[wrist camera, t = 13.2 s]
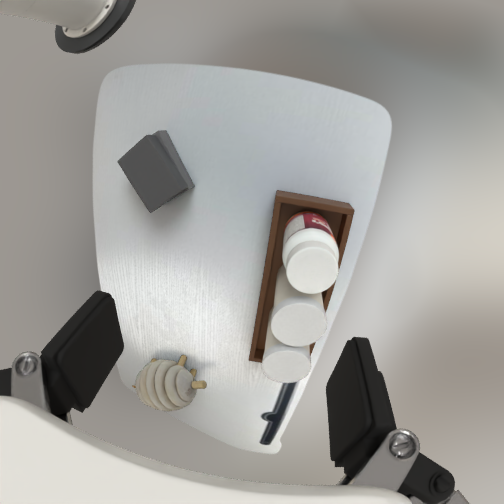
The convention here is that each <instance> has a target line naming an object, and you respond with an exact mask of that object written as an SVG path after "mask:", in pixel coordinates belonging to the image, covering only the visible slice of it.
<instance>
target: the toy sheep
mask: <svg viewBox="0 0 504 504" xmlns="http://www.w3.org/2000/svg"><path fill="white" fill-rule="evenodd" d="M186 359H187V357H186V356H185V355H182V356H181V357H180V359H179V362H178V363H177V362H175V361H172V360H163V359H161V360H156V359H155V358H154V359H152V360H151V362H150V363H149V364H147V365H146V366H145V367H144V368H143V370H141V371H140V372H139V374H138V375H137V378H136V383H135V386H133V385H132V386H133V387H134V388H136V392H137V395H138V397H139V398H140V400H141V401H142V402H143V403H144V404H145V405H147V406H150V407H153V408H155V409H157V410H163V411H172V410H179V409H181V408H183V407H185V406H187V405H189V404H190V403H191V402H192V400H193V398H194V397H195V394H196V391H197V389H202V388H206V386H207V384H206V382H205V381H195V375H196V372H197V371H196V370H195V369H191V371H190V372H189V371H188V370H187V369H186V368H184V364H185V362H186Z"/></svg>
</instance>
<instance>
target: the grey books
mask: <svg viewBox="0 0 504 504" xmlns="http://www.w3.org/2000/svg"><path fill="white" fill-rule="evenodd" d="M118 163H119V165H120V167H121V168H122V170H123V171H124V173H125V175H126V176H127V178H128V179H129V181H130V183H131V184H132V186H133V187H134V189H135V190H136V192H137V194H138V195H139V197H140V198H141V200H142V201H143V203H144V204H145V206H146V207H147V209H148V210H149V212H150V213H151V212H153V211H155V210H156V209H158V208H159V207H161V206H162V205H163V204H165V203H166V202H168V201H169V200H171V199H173V198H175V197H177V196H178V195H180V194H182V193H184V192H186V191H188V190H189V189H191V188H193V187H194V184H193V182H192V180H191V178H190V176H189V174H188V172H187V171H186V169H185V167H184V165H183V163H182V161H181V159H180V157H179V155H178V153H177V151H176V149H175V147H174V145H173V143H172V141H171V139H170V137H169V135H168V133H167V131H166V130H165V131H157V132H156V133H154V134H153V135H146V136H145V137H144V138H143V139H142V140H140V141H139V142H138V143H137V144H136V145H135V146H134V147H133V148H131V149H130V150H129V151H128V152H127V153H126V154H125V155H124V156H123V157H122V158H121V159H119V160H118Z"/></svg>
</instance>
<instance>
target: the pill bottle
mask: <svg viewBox="0 0 504 504" xmlns="http://www.w3.org/2000/svg"><path fill="white" fill-rule="evenodd" d="M282 258H283V264H284V267H285V269H286V274H287V278H288V281H289V282H290V284H291V285H292V286H293V287H294V288H295V289H296V290H298V291H300V292H303V293H307V294H316V293H320V292H323V291H325V290H327V289H328V288H330V287H331V286H332V285H333V283H334V282H335V281H336V278H337V276H338V271H339V267H338V260H339V250H338V247H337V244H336V241H335V239H334V236H333V234H332V231H331V229H330V226H329V224H328V222H327V221H326V219H325V218H324V217H323V216H321V215H320V214H318V213H316V212H313V211H302V212H299V213H297V214H295V215H293V216H292V217H291V218H290V219H289V220H288V222H287V224H286V226H285V229H284V240H283V253H282Z"/></svg>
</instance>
